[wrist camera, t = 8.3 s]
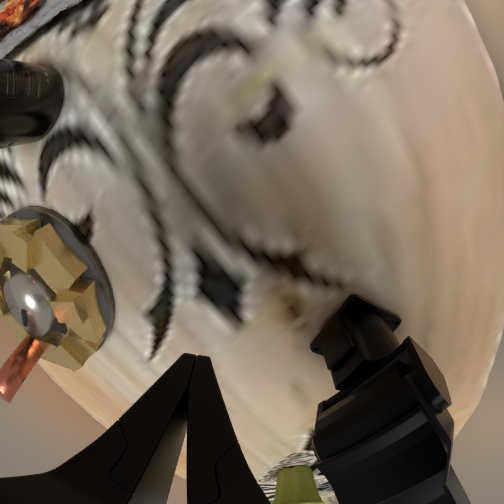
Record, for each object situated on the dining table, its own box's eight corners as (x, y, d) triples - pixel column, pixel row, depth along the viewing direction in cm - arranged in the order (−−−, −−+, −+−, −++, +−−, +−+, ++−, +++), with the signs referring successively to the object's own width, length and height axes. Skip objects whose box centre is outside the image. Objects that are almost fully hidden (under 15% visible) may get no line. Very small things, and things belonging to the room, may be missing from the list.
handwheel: (85, 218, 17) (-6, 281, 8) (118, 367, 23) (84, 443, 14) (-16, 216, 16) (-80, 254, 8) (20, 335, 22) (-19, 385, 14)
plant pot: (260, 475, 38) (260, 513, 30) (283, 460, 34) (286, 504, 26) (303, 478, 39) (306, 512, 31) (329, 462, 36) (336, 501, 28)
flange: (106, 212, 18) (72, 233, 14) (125, 361, 25) (110, 394, 20) (-7, 203, 18) (-37, 217, 13) (22, 326, 24) (3, 348, 20)
